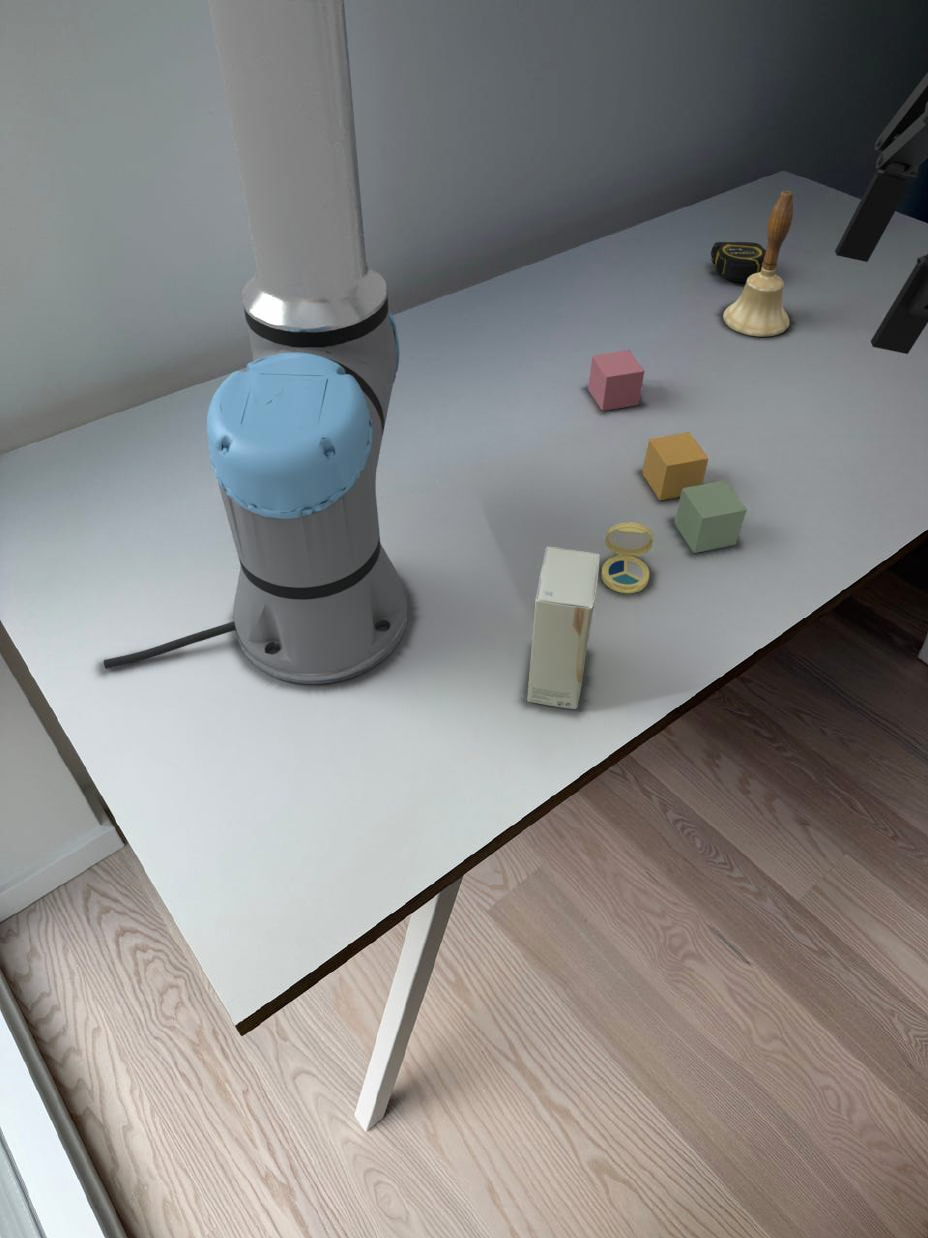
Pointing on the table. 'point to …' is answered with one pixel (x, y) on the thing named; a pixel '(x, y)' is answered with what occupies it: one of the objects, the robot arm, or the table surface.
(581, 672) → the cosmetic box
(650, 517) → the table surface
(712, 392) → the table surface
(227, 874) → the table surface
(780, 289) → the hand bell
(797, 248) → the table surface
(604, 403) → the colored toy blocks
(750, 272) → the tape measure
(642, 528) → the eyeshadow
